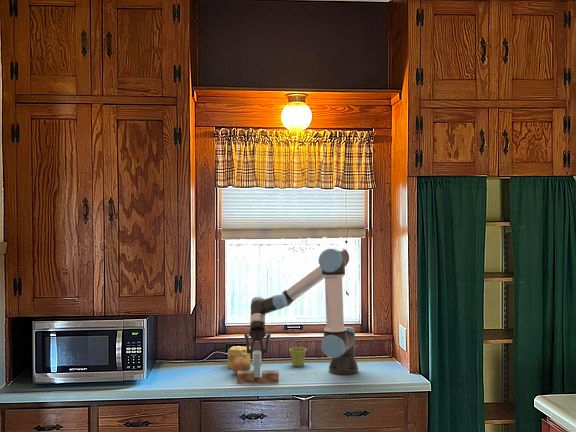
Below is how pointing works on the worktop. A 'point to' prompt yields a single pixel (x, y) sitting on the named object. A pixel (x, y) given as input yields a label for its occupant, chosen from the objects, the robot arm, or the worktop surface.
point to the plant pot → (298, 356)
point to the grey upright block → (256, 363)
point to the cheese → (237, 354)
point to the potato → (240, 364)
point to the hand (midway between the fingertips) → (256, 364)
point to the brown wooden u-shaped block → (267, 377)
